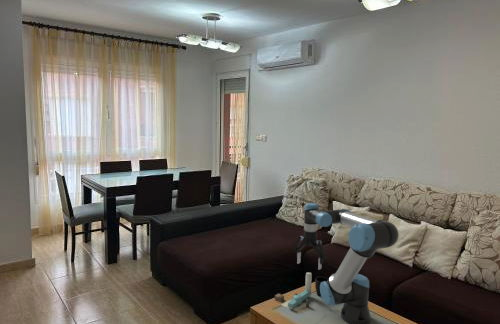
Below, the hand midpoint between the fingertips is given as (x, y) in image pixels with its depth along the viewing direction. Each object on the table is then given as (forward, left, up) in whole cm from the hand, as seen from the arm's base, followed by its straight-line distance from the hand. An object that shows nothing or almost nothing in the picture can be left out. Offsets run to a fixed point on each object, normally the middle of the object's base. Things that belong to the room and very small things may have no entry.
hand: (309, 265), depth 209 cm
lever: (0, +9, -17) cm, 20 cm away
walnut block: (+9, +14, -18) cm, 24 cm away
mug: (-6, -11, -20) cm, 23 cm away
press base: (0, +13, -20) cm, 24 cm away
